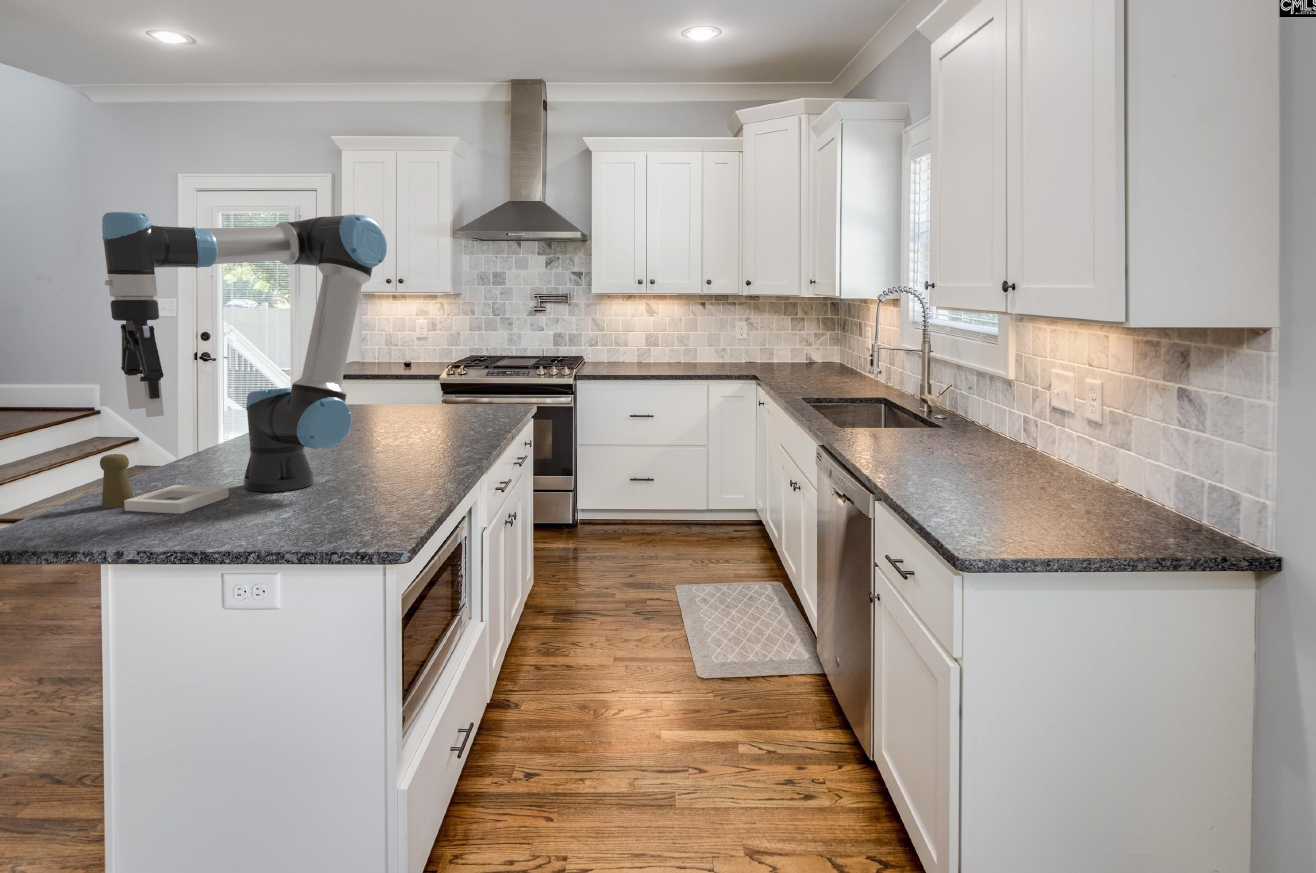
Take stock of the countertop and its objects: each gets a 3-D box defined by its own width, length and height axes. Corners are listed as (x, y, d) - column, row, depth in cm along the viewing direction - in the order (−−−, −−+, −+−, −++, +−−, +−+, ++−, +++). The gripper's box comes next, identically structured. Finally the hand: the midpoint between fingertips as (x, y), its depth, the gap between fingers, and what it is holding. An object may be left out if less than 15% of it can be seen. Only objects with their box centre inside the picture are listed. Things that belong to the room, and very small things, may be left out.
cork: (96, 509, 178) (91, 457, 176) (109, 502, 184) (104, 452, 182) (128, 508, 179) (123, 456, 177) (139, 501, 185) (135, 451, 183)
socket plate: (176, 494, 191) (175, 484, 191) (228, 497, 189) (228, 487, 189) (125, 510, 176) (124, 500, 176) (181, 513, 174) (180, 503, 174)
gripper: (96, 298, 163) (108, 407, 167) (126, 299, 145) (139, 422, 149) (140, 297, 168) (151, 403, 172) (175, 299, 150) (186, 417, 154)
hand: (145, 412), depth 160 cm, fingers open, 13 cm apart
